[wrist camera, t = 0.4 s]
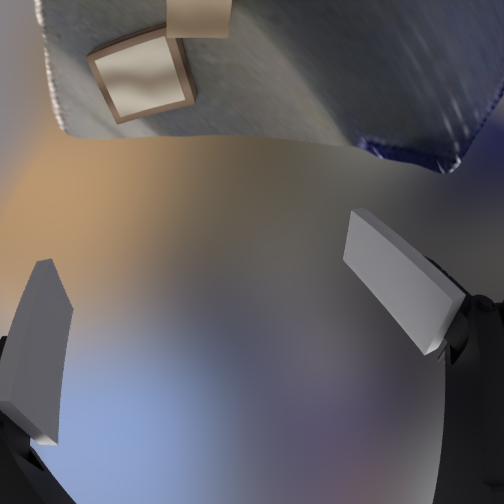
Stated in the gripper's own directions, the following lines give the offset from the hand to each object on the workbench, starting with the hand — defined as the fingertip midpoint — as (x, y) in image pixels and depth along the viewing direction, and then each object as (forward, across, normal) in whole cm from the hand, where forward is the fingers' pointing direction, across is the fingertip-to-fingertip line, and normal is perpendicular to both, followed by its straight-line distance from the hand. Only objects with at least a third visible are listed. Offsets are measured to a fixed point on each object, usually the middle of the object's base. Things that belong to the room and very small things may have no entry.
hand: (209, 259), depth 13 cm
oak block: (+25, +5, +18) cm, 31 cm away
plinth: (+31, -3, +9) cm, 32 cm away
